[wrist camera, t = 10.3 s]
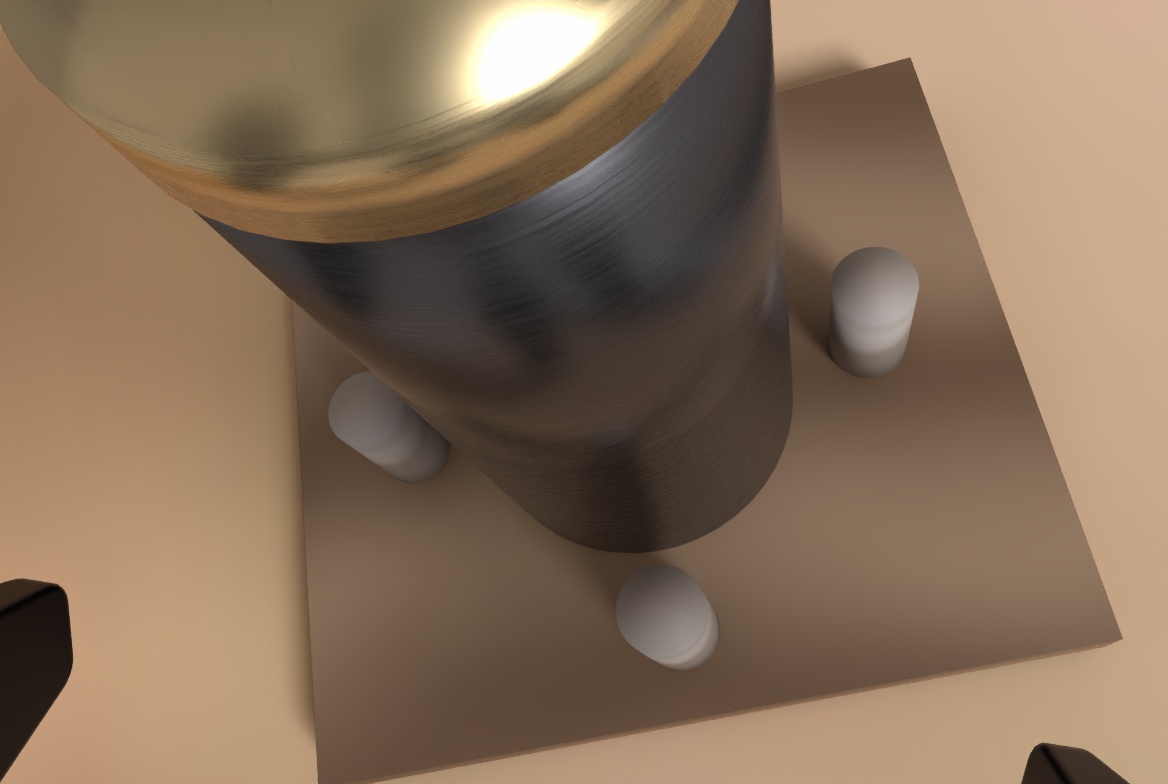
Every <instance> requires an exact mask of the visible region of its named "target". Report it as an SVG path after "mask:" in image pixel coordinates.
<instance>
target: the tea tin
mask: <svg viewBox="0 0 1168 784" xmlns="http://www.w3.org/2000/svg"><path fill="white" fill-rule="evenodd" d="M0 23H1V25H2V27H3V29H4V31H5V32H6V34H7V36H8V38H9V40H10V42H11V44H12V46H13V48H14V50H15V51H16V53H17V54H18V55H19V56H20V58H21V59H22V60H23V61H24V63H25V64H26V65H27V66H28V68H29V69H30V70H31V71H32V73H33V74H34V75H35V77H36V78H37V79H38V80H39V81H40V82H41V83H43V84H44V85H45V86H46V87H47V88H48V89H49V90H50V91H51V92H53V93H54V94H55V95H56V96H57V97H58V98H59V99H60V100H62V101H63V102H64V103H65V104H66V105H67V106H68V107H69V108H71V109H72V110H73V111H74V112H75V113H76V114H77V115H78V116H79V117H81V118H82V119H83V120H84V121H85V122H86V123H87V124H88V125H90V126H91V127H92V128H93V129H94V130H95V131H96V132H97V133H99V134H100V135H101V136H102V137H103V138H104V139H105V140H106V141H108V142H109V143H110V144H111V145H112V146H113V147H114V148H115V149H116V150H118V151H119V152H120V153H121V154H122V155H123V156H124V157H125V158H127V159H128V160H129V161H130V162H131V163H132V164H133V165H134V166H136V167H137V168H138V169H139V170H140V171H141V172H142V173H143V174H145V175H146V176H147V177H148V178H149V179H150V180H152V181H153V182H154V183H155V184H156V185H157V186H159V187H160V188H161V189H162V190H163V191H165V192H166V193H167V194H168V195H169V196H171V197H173V198H174V199H176V200H178V201H179V202H181V203H183V204H184V205H186V206H188V207H189V208H191V209H192V210H193V211H194V212H196V213H197V214H198V215H199V216H200V217H201V218H202V219H203V220H204V221H206V222H207V223H208V224H209V225H210V226H211V227H212V228H213V229H214V230H216V231H217V232H218V233H219V234H220V235H221V236H222V237H223V238H224V239H225V240H227V241H228V242H229V243H230V244H231V245H232V246H233V247H234V248H235V249H237V250H238V251H239V252H240V253H241V254H242V255H243V256H244V257H245V258H246V259H248V260H249V261H250V262H251V263H252V264H253V265H254V266H255V267H256V268H258V269H259V270H260V271H261V272H262V273H263V274H264V275H265V276H266V277H267V278H269V279H270V280H271V281H272V282H273V283H274V284H275V285H276V286H277V287H279V288H280V289H281V290H282V291H283V292H284V293H285V294H286V295H287V296H288V297H290V298H291V299H292V300H293V301H294V302H295V303H296V304H297V305H298V306H300V307H301V308H302V309H303V310H304V311H305V312H306V313H307V314H308V315H309V316H311V317H312V318H313V319H314V320H315V321H316V322H317V323H318V324H319V325H321V326H322V327H323V328H324V329H325V330H326V331H327V332H328V333H329V334H330V335H332V336H333V337H334V338H335V339H336V340H337V341H338V342H339V343H340V344H342V345H343V346H344V347H345V348H346V349H347V350H348V351H349V352H350V353H351V354H353V355H354V356H355V357H356V358H357V359H358V360H359V361H360V362H361V363H363V364H364V365H365V366H366V367H367V368H368V369H369V370H370V371H371V372H372V373H374V374H375V375H376V376H377V377H378V378H379V379H380V380H381V381H382V382H384V383H385V384H386V385H387V386H388V387H389V388H390V389H391V390H392V391H393V392H395V393H396V394H397V395H398V396H399V397H400V398H401V399H402V400H403V401H405V402H406V403H407V404H408V405H409V406H410V407H411V408H412V409H413V410H414V411H416V412H417V413H418V414H419V415H420V416H421V417H422V418H423V419H424V420H426V421H427V422H428V423H429V424H430V425H431V426H432V427H433V428H434V429H435V430H437V431H438V432H439V433H440V434H441V435H442V436H443V437H444V438H445V439H447V440H448V441H449V442H450V443H451V444H452V445H453V446H454V447H455V448H457V449H458V450H459V451H460V452H461V453H462V454H463V455H464V456H465V457H466V458H468V459H469V460H470V461H471V462H472V463H473V464H474V465H475V466H476V467H478V468H479V469H480V470H481V471H482V472H483V473H484V474H485V475H486V476H487V477H489V478H490V479H491V480H492V481H493V482H494V483H495V484H496V485H497V486H499V487H500V488H501V489H502V490H503V491H504V492H505V493H506V494H507V495H508V496H510V497H511V498H512V499H513V500H514V501H515V502H516V503H517V504H518V505H520V506H521V507H522V508H523V509H524V510H525V511H526V512H527V513H528V514H530V515H531V516H532V517H533V518H534V519H535V520H537V521H538V522H539V523H540V524H541V525H543V526H544V527H546V528H547V529H549V530H551V531H552V532H554V533H555V534H557V535H559V536H561V537H563V538H565V539H567V540H569V541H572V542H574V543H576V544H579V545H583V546H586V547H589V548H592V549H596V550H602V551H608V552H614V553H645V552H655V551H661V550H665V549H669V548H674V547H678V546H681V545H684V544H686V543H689V542H691V541H694V540H697V539H699V538H701V537H703V536H705V535H707V534H709V533H711V532H712V531H714V530H716V529H718V528H719V527H721V526H722V525H724V524H725V523H726V522H728V521H729V520H731V519H732V518H733V517H735V516H736V515H737V514H738V513H739V512H740V511H741V510H743V509H744V508H745V507H746V506H747V505H748V504H749V503H750V502H751V501H752V500H753V499H754V497H755V496H756V495H757V494H758V493H759V491H760V490H761V489H762V488H763V487H764V485H765V484H766V482H767V481H768V479H769V477H770V476H771V474H772V473H773V471H774V469H775V468H776V466H777V464H778V461H779V459H780V457H781V455H782V452H783V450H784V448H785V444H786V441H787V437H788V434H789V430H790V425H791V418H792V411H793V384H792V367H791V350H790V333H789V316H788V298H787V281H786V264H785V247H784V230H783V213H782V196H781V178H780V161H779V144H778V127H777V110H776V93H775V76H774V58H773V41H772V24H771V7H770V0H0Z"/></svg>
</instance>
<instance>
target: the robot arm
mask: <svg viewBox="0 0 1168 784" xmlns="http://www.w3.org/2000/svg"><path fill="white" fill-rule="evenodd" d="M72 664H73V649H72V638H71V627H70V616H69V606H68V598H67V595H66V593H65V591H64V589H63V588H62V587H60V586H59V585H58V584H54V583H48V582H42V581H36V580H30V579H14V580H10V581H7V582H3V583H0V782H1V781H2V779H3V778H4V776H5V775H6V773H7V772H8V770H9V769H10V767H11V766H12V764H13V763H14V761H15V760H16V758H17V757H18V755H19V754H20V752H21V751H22V749H23V748H24V746H25V745H26V743H27V742H28V740H29V739H30V737H31V736H32V734H33V733H34V731H35V730H36V728H37V727H38V725H39V724H40V722H41V721H42V719H43V718H44V716H45V715H46V713H47V712H48V710H49V709H50V707H51V706H52V704H53V703H54V701H55V700H56V698H57V697H58V695H59V694H60V692H61V691H62V689H63V688H64V686H65V685H66V683H67V681H68V678H69V676H70V673H71V670H72ZM1021 784H1130V783H1128V782H1127V781H1126V780H1125V779H1123V778H1122V777H1121V776H1120V775H1118V774H1117V773H1116V772H1115V771H1113V770H1112V769H1111V768H1110V767H1108V766H1107V765H1106V764H1104V763H1103V762H1102V761H1101V760H1099V759H1098V758H1097V757H1096V756H1094V755H1093V754H1092V753H1090V752H1089V751H1087V750H1084V749H1081V748H1074V747H1068V746H1061V745H1055V744H1049V743H1041V744H1039V745H1037V746H1035V747H1034V749H1033V750H1032V752H1031V753H1030V756H1029V758H1028V762H1027V765H1026V769H1025V772H1024V776H1023V779H1022V783H1021Z"/></svg>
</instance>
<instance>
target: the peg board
mask: <svg viewBox="0 0 1168 784" xmlns="http://www.w3.org/2000/svg"><path fill="white" fill-rule="evenodd" d="M776 110H777V127H778V144H779V161H780V178H781V196H782V213H783V230H784V247H785V264H786V281H787V298H788V316H789V333H790V350H791V367H792V384H793V411H792V418H791V425H790V430H789V434H788V437H787V441H786V444H785V448H784V450H783V452H782V455H781V457H780V459H779V461H778V464H777V466H776V468H775V469H774V471H773V473H772V474H771V476H770V477H769V479H768V481H767V482H766V484H765V485H764V487H763V488H762V489H761V490H760V491H759V493H758V494H757V495H756V496H755V497H754V499H753V500H752V501H751V502H750V503H749V504H748V505H747V506H746V507H745V508H744V509H743V510H741V511H740V512H739V513H738V514H737V515H736V516H735V517H733V518H732V519H731V520H729V521H728V522H726V523H725V524H724V525H722V526H721V527H719V528H718V529H716V530H714V531H712V532H711V533H709V534H707V535H705V536H703V537H701V538H699V539H697V540H694V541H691V542H689V543H686V544H684V545H681V546H678V547H674V548H669V549H665V550H661V551H655V552H645V553H614V552H608V551H602V550H596V549H592V548H589V547H586V546H583V545H579V544H576V543H574V542H572V541H569V540H567V539H565V538H563V537H561V536H559V535H557V534H555V533H554V532H552V531H551V530H549V529H547V528H546V527H544V526H543V525H541V524H540V523H539V522H538V521H537V520H535V519H534V518H533V517H532V516H531V515H530V514H528V513H527V512H526V511H525V510H524V509H523V508H522V507H521V506H520V505H518V504H517V503H516V502H515V501H514V500H513V499H512V498H511V497H510V496H508V495H507V494H506V493H505V492H504V491H503V490H502V489H501V488H500V487H499V486H497V485H496V484H495V483H494V482H493V481H492V480H491V479H490V478H489V477H487V476H486V475H485V474H484V473H483V472H482V471H481V470H480V469H479V468H478V467H476V466H475V465H474V464H473V463H472V462H471V461H470V460H469V459H468V458H466V457H465V456H464V455H463V454H462V453H461V452H460V451H459V450H458V449H457V448H455V447H454V446H453V445H452V444H451V443H450V442H449V441H448V440H447V439H445V438H444V437H443V436H442V435H441V434H440V433H439V432H438V431H437V430H435V429H434V428H433V427H432V426H431V425H430V424H429V423H428V422H427V421H426V420H424V419H423V418H422V417H421V416H420V415H419V414H418V413H417V412H416V411H414V410H413V409H412V408H411V407H410V406H409V405H408V404H407V403H406V402H405V401H403V400H402V399H401V398H400V397H399V396H398V395H397V394H396V393H395V392H393V391H392V390H391V389H390V388H389V387H388V386H387V385H386V384H385V383H384V382H382V381H381V380H380V379H379V378H378V377H377V376H376V375H375V374H374V373H372V372H371V371H370V370H369V369H368V368H367V367H366V366H365V365H364V364H363V363H361V362H360V361H359V360H358V359H357V358H356V357H355V356H354V355H353V354H351V353H350V352H349V351H348V350H347V349H346V348H345V347H344V346H343V345H342V344H340V343H339V342H338V341H337V340H336V339H335V338H334V337H333V336H332V335H330V334H329V333H328V332H327V331H326V330H325V329H324V328H323V327H322V326H321V325H319V324H318V323H317V322H316V321H315V320H314V319H313V318H312V317H311V316H309V315H308V314H307V313H306V312H305V311H304V310H303V309H302V308H301V307H300V306H298V305H297V304H296V303H295V302H294V301H293V300H292V316H293V334H294V352H295V370H296V388H297V406H298V424H299V443H300V461H301V479H302V497H303V515H304V533H305V551H306V570H307V588H308V606H309V624H310V642H311V660H312V678H313V697H314V715H315V733H316V751H317V769H318V784H369V783H374V782H380V781H385V780H391V779H396V778H401V777H407V776H412V775H417V774H423V773H428V772H434V771H439V770H444V769H450V768H455V767H461V766H466V765H471V764H477V763H482V762H488V761H493V760H498V759H504V758H509V757H514V756H520V755H525V754H531V753H536V752H541V751H547V750H552V749H558V748H563V747H568V746H574V745H579V744H584V743H590V742H595V741H601V740H606V739H611V738H617V737H622V736H628V735H633V734H638V733H644V732H649V731H654V730H660V729H665V728H671V727H676V726H681V725H687V724H692V723H698V722H703V721H708V720H714V719H719V718H724V717H730V716H735V715H741V714H746V713H751V712H757V711H762V710H768V709H773V708H778V707H784V706H789V705H794V704H800V703H805V702H811V701H816V700H821V699H827V698H832V697H838V696H843V695H848V694H854V693H859V692H864V691H870V690H875V689H881V688H886V687H891V686H897V685H902V684H908V683H913V682H918V681H924V680H929V679H935V678H940V677H945V676H951V675H956V674H961V673H967V672H972V671H978V670H983V669H988V668H994V667H999V666H1005V665H1010V664H1015V663H1021V662H1026V661H1031V660H1037V659H1042V658H1048V657H1053V656H1058V655H1064V654H1069V653H1075V652H1080V651H1085V650H1091V649H1096V648H1101V647H1105V646H1107V645H1110V644H1112V643H1114V642H1117V641H1119V640H1121V639H1123V638H1122V635H1121V633H1120V630H1119V627H1118V624H1117V622H1116V619H1115V616H1114V613H1113V611H1112V608H1111V605H1110V602H1109V600H1108V597H1107V594H1106V591H1105V589H1104V586H1103V583H1102V581H1101V578H1100V575H1099V572H1098V570H1097V567H1096V564H1095V561H1094V559H1093V556H1092V553H1091V550H1090V548H1089V545H1088V542H1087V540H1086V537H1085V534H1084V531H1083V529H1082V526H1081V523H1080V520H1079V518H1078V515H1077V512H1076V509H1075V507H1074V504H1073V501H1072V498H1071V496H1070V493H1069V490H1068V488H1067V485H1066V482H1065V479H1064V477H1063V474H1062V471H1061V468H1060V466H1059V463H1058V460H1057V457H1056V455H1055V452H1054V449H1053V446H1052V444H1051V441H1050V438H1049V436H1048V433H1047V430H1046V427H1045V425H1044V422H1043V419H1042V416H1041V414H1040V411H1039V408H1038V405H1037V403H1036V400H1035V397H1034V394H1033V392H1032V389H1031V386H1030V384H1029V381H1028V378H1027V375H1026V373H1025V370H1024V367H1023V364H1022V362H1021V359H1020V356H1019V353H1018V351H1017V348H1016V345H1015V342H1014V340H1013V337H1012V334H1011V332H1010V329H1009V326H1008V323H1007V321H1006V318H1005V315H1004V312H1003V310H1002V307H1001V304H1000V301H999V299H998V296H997V293H996V290H995V288H994V285H993V282H992V280H991V277H990V274H989V271H988V269H987V266H986V263H985V260H984V258H983V255H982V252H981V249H980V247H979V244H978V241H977V239H976V236H975V233H974V230H973V228H972V225H971V222H970V219H969V217H968V214H967V211H966V208H965V206H964V203H963V200H962V197H961V195H960V192H959V189H958V187H957V184H956V181H955V178H954V176H953V173H952V170H951V167H950V165H949V162H948V159H947V156H946V154H945V151H944V148H943V145H942V143H941V140H940V137H939V135H938V132H937V129H936V126H935V124H934V121H933V118H932V115H931V113H930V110H929V107H928V104H927V102H926V99H925V96H924V93H923V91H922V88H921V85H920V83H919V80H918V77H917V74H916V72H915V69H914V66H913V63H912V61H911V58H906V59H903V60H899V61H895V62H892V63H888V64H884V65H881V66H877V67H873V68H870V69H866V70H862V71H859V72H855V73H851V74H848V75H844V76H840V77H837V78H833V79H829V80H826V81H822V82H818V83H815V84H811V85H807V86H803V87H800V88H796V89H792V90H789V91H785V92H781V93H778V94H776Z"/></svg>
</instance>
